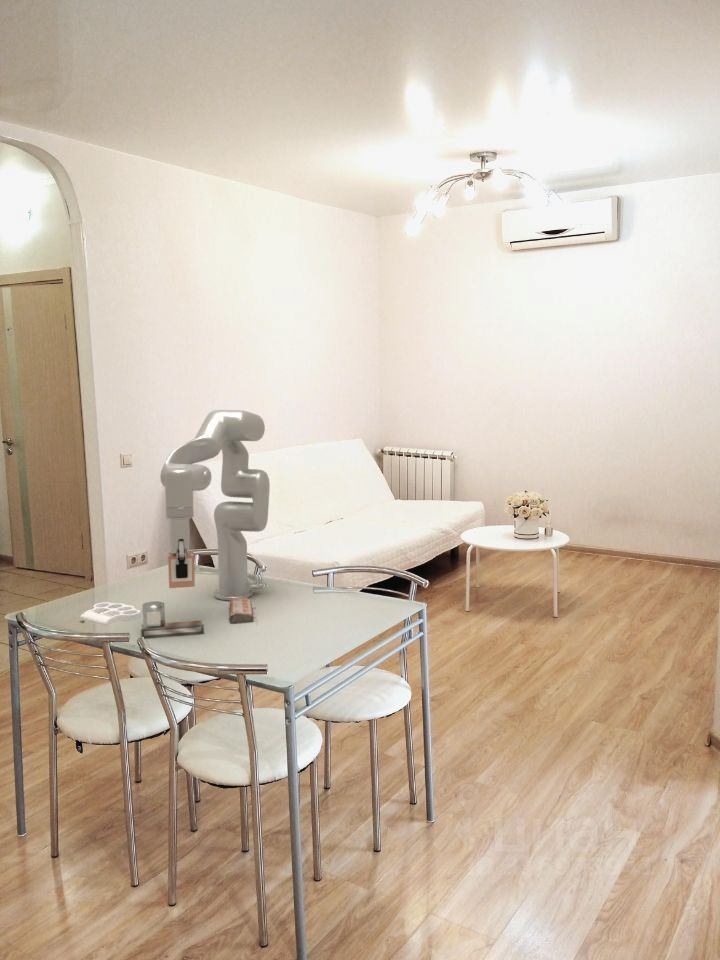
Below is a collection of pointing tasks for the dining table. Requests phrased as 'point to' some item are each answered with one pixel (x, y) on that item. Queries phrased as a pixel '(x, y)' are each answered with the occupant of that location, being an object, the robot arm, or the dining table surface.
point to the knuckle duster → (110, 613)
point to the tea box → (172, 563)
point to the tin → (153, 614)
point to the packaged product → (242, 611)
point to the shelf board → (174, 629)
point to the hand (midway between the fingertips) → (181, 574)
